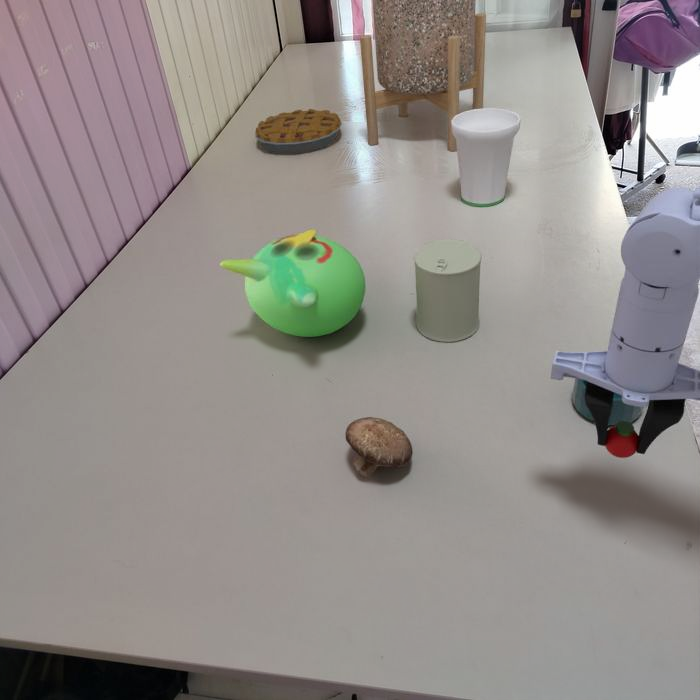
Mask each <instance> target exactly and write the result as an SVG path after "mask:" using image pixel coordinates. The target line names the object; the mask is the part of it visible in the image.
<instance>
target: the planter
mask: <svg viewBox="0 0 700 700" xmlns="http://www.w3.org/2000/svg"><path fill="white" fill-rule="evenodd" d="M476 1H477V0H372V13H373V15H372V16H373V28H374V29H373V30H374V43H375V46H374V47H375V60H376V74H377V75H376V76H377V82H378V84H379V85H380V87H382V88H383V89H381V90H376V86H375V85H376V84H375V83H376V82H375V71H374V56H373V43H372V42H373V41H372V35H370V34H364V35H360V37H359V42H360V55H361V67H362V80H363V81H362V82H363V93H364V107H365V118H366V132H367V144H368V145H369V146H377V145H379V128H378V127H379V126H378V114H377V110H380V109H385V108H389V107H393V106H397V110H398V111H397V113H398V117H401V118H405V117H407V116H409V107H408V105H409V103H411V102H416V101H420V100H426V101H427V102H429V103H431V104H433V105H434V106H436V107H437V108H439V109H440V110H443V111H444V112H445V113H447V151H449V152H457V144H456V138H455V137H454V135H453V134H452V130H451V120H452V119H453V118H454V117H455V116H456V115H458V114H460V92H461V91H462V92H463V91H467V90H471V89H472V110H473V109H483V108H484V92H485V91H484V90H485V89H484V88H485V86H484V85H485V62H486V61H485V60H486V59H485V57H486V32H487V31H486V30H487V29H486V27H487V22H486V21H487V14H486V13H484V12H480V13H479V12H478V13H476V3H477V2H476Z"/></svg>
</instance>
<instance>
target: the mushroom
mask: <svg viewBox="0 0 700 700" xmlns="http://www.w3.org/2000/svg"><path fill="white" fill-rule="evenodd" d="M345 440H346V443H347V444H348V445H349V446H350V447H351V448H352V450H353V451H354V452H355V453H356V455H355V457H354V459H353V465H354V467H355V470H356V471H357V472H358V473H359V474H360V475H361V476H362V477H364V478H371V477H372V475H373V474H374V473H375V471H376V470H377V468H378V467H388V468H400V467H405V466H406V465H408V464H409V462H410V461H411V459H412V458H413V453H414V452H413V446H412V445H413V444H412V443H411V440H410V439H409V437H408V435H407V434H406V433H405V432H404V430H403V429H402V428H400V427H398V426H397V425H395V424H394V423H393V422H390V421H388V420H386V419H383V418H380V417H373V416H366V417H361V418H359V419H356V420H353V421H352V422H350V424H348V426H347V427H346V430H345Z"/></svg>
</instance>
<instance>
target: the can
mask: <svg viewBox="0 0 700 700" xmlns="http://www.w3.org/2000/svg"><path fill="white" fill-rule="evenodd" d="M413 260H414V261H413V262H414V272H415V292H416V293H415V295H416V297H415V298H416V319H415V320H416V322H415V325H416V329H417V330H418V332H419V333H420V334H421V335H422V336H423V337H425V338H426V339H429V340H431V341H435V342H440V343H455V342H461V341H464V340H466V339H468V338H470V337H473V335H475V333H477V331H478V329H479V327H480V318H479V316H480V312H479V311H480V310H479V309H480V283H481V281H480V279H481V263H482V252H481V251H480V249H479V248H478V246H476V245H474V244H473V243H470V242H468V241H466V240H465V241H464V240H460V239H439V240H434V241H431V242H428V243H425V244H423V245H422V246H420V247H419V248H418V249H417V250H415V254H414V256H413Z"/></svg>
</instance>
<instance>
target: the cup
mask: <svg viewBox="0 0 700 700" xmlns="http://www.w3.org/2000/svg"><path fill="white" fill-rule="evenodd" d="M521 121H522V119H521V117H520V115H519V113H517V112H515V111H512V110H509V109H504V108H494V107H491V108H490V107H483V109H473V108H472V109H470V110H465V111H461V112H459V114H458V115H456V116H455V117H454V118H453V119H452V120H451V130H452V134H453V135H454V137H455V138H456V144H457V151H456V153H457V162H458V163H457V164H458V170H459V171H458V173H459V185H460V198H461V201H462V202H463V203H464V204H466V205H468V206H472V207H480V208H482V207H483V208H484V207H492V206H496V205H499V204H500V203H502V202H503V201H504V199H505V198H506V187H507V180H508V175H509V169H510V164H511V163H510V162H511V157H512V151H513V147H514V146H513V145H514V141H515V137H516V136H517V134H518V132H519V131H520V129H521Z"/></svg>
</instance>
